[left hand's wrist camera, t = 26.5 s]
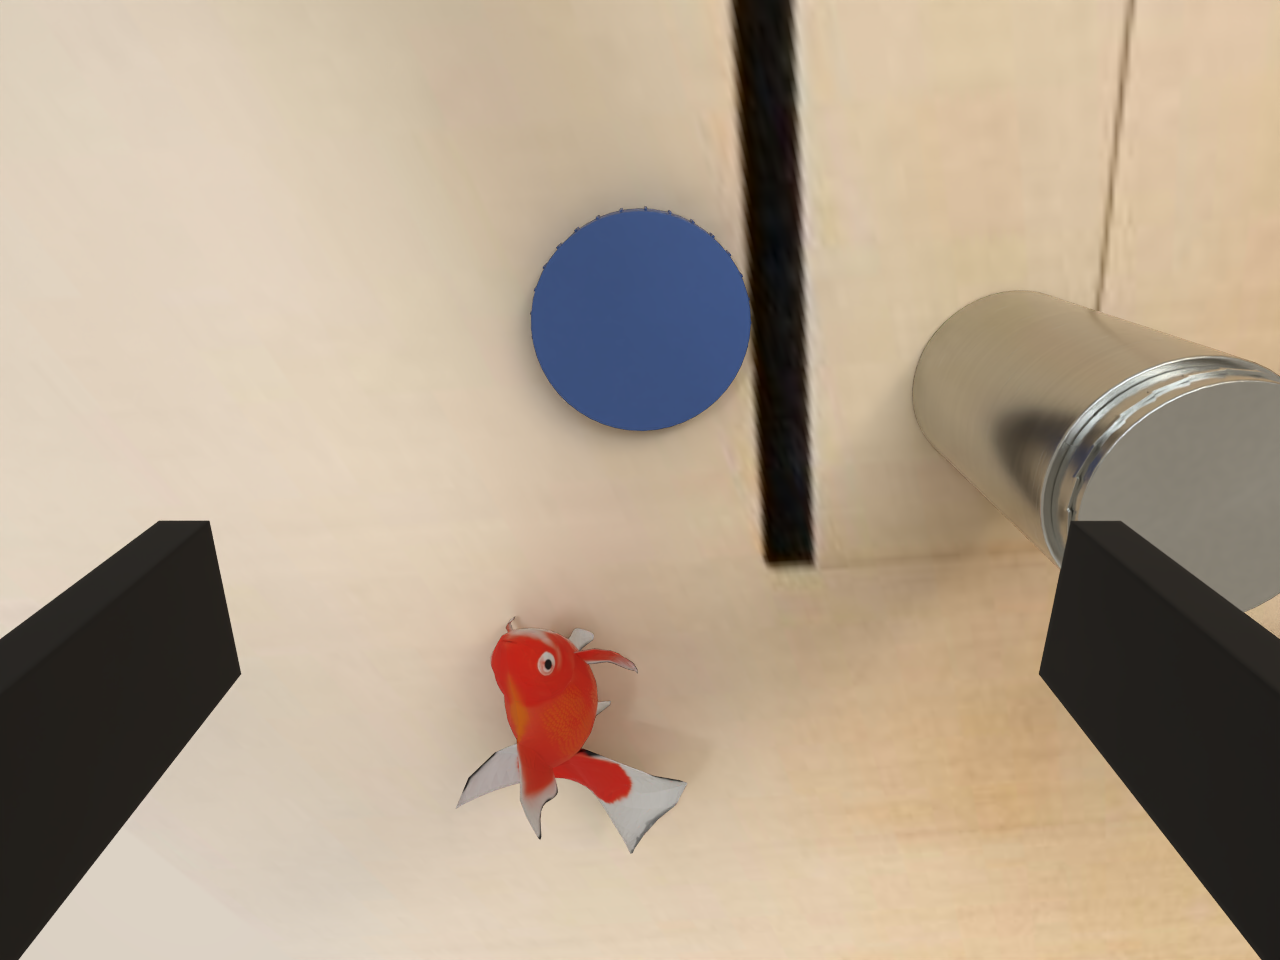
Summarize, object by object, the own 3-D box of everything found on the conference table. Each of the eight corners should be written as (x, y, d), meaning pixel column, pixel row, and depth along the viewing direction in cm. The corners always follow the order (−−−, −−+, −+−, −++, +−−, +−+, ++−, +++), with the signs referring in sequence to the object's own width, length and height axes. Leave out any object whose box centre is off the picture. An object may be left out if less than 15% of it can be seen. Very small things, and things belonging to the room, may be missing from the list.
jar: (932, 283, 36) (1112, 358, 23) (1120, 297, 37) (1413, 380, 23) (896, 462, 40) (1035, 625, 26) (1069, 475, 40) (1301, 643, 26)
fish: (720, 602, 37) (646, 814, 30) (709, 757, 48) (654, 935, 42) (505, 543, 40) (395, 726, 33) (542, 703, 51) (466, 862, 44)
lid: (768, 388, 38) (774, 399, 36) (572, 443, 39) (569, 456, 37) (717, 178, 35) (721, 179, 33) (505, 243, 36) (497, 248, 34)
